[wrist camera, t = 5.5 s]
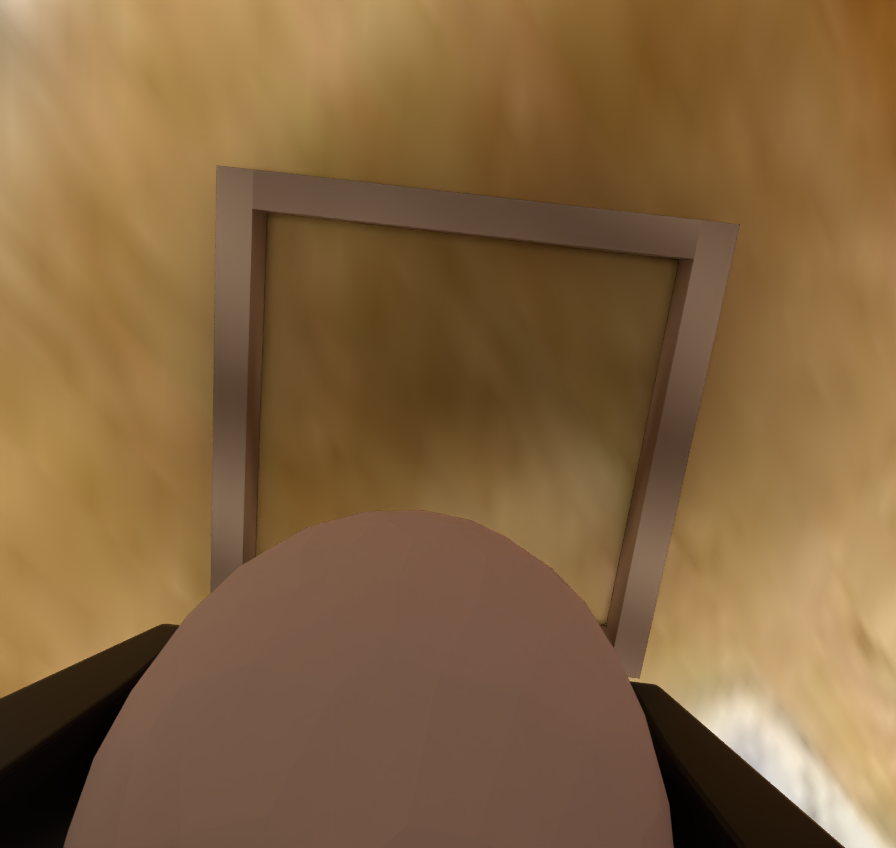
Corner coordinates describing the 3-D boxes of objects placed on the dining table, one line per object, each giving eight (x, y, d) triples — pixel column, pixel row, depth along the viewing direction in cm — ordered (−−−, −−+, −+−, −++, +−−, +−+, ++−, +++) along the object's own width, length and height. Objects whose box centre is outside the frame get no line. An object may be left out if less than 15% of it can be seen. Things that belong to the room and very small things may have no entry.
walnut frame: (630, 655, 21) (639, 678, 20) (225, 605, 21) (210, 624, 20) (722, 227, 17) (739, 224, 16) (233, 172, 18) (216, 165, 16)
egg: (386, 798, 10) (198, 1933, 3) (181, 565, 10) (-692, 1448, 2) (657, 645, 10) (1203, 1773, 2) (458, 369, 9) (376, 871, 1)
